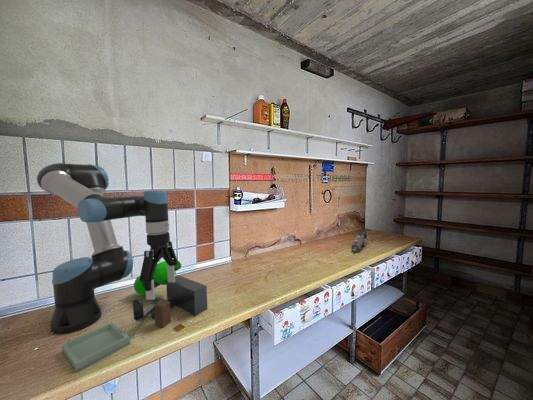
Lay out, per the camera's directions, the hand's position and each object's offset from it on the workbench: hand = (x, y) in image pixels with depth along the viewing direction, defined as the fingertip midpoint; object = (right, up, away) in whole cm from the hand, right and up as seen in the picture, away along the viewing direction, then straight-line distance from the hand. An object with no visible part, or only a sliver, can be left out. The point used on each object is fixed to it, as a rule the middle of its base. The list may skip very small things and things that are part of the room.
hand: (161, 289), depth 84 cm
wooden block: (0, -13, +1) cm, 13 cm away
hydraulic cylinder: (+110, -4, +94) cm, 145 cm away
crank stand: (+2, -12, +9) cm, 15 cm away
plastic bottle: (-22, -9, +25) cm, 35 cm away
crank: (-5, -9, +2) cm, 10 cm away
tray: (-16, -14, -11) cm, 24 cm away
